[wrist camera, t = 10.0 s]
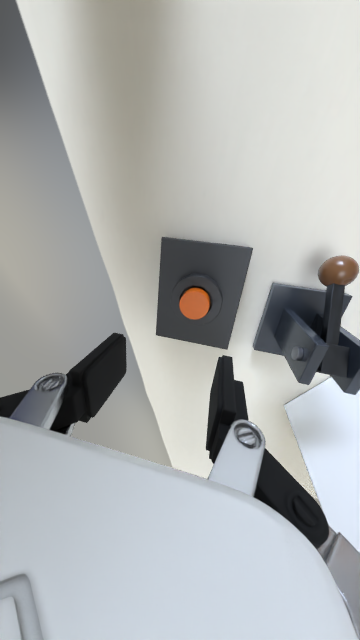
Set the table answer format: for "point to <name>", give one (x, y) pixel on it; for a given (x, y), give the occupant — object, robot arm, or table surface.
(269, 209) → the table surface
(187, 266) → the button base
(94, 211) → the table surface
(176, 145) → the table surface
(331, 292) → the lever
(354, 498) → the gable box
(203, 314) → the button
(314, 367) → the switch bracket
